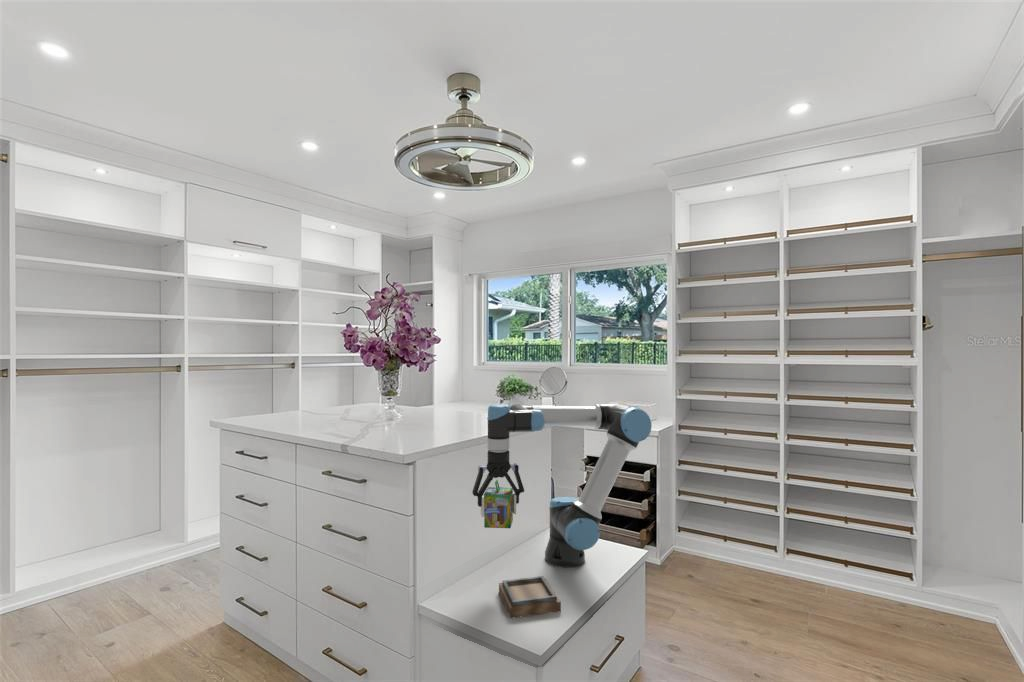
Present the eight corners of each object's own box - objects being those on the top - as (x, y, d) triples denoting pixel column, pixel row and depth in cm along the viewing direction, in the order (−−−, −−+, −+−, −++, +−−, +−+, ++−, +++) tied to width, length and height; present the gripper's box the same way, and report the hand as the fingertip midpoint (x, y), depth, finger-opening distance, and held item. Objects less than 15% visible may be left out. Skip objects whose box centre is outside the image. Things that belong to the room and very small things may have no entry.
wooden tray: (544, 586, 170) (545, 574, 170) (560, 611, 154) (560, 597, 154) (498, 592, 166) (498, 579, 166) (510, 618, 150) (510, 604, 150)
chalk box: (510, 529, 168) (510, 485, 168) (483, 528, 169) (483, 484, 169) (513, 519, 177) (513, 478, 177) (488, 518, 178) (488, 477, 178)
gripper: (527, 446, 178) (527, 508, 178) (463, 449, 173) (463, 513, 173) (533, 450, 171) (533, 515, 171) (466, 454, 166) (466, 520, 166)
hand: (498, 514), depth 172 cm, fingers closed on chalk box, 10 cm apart
